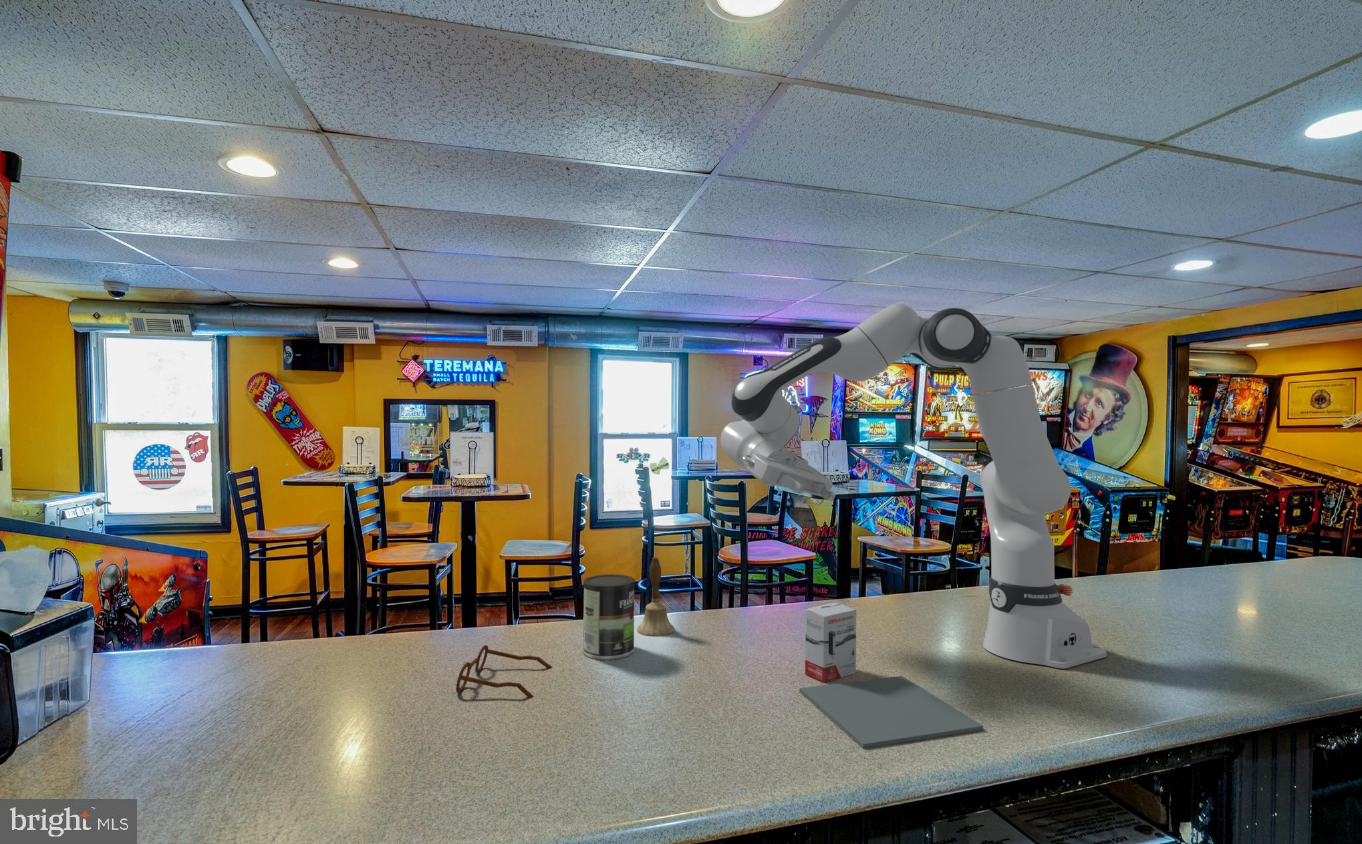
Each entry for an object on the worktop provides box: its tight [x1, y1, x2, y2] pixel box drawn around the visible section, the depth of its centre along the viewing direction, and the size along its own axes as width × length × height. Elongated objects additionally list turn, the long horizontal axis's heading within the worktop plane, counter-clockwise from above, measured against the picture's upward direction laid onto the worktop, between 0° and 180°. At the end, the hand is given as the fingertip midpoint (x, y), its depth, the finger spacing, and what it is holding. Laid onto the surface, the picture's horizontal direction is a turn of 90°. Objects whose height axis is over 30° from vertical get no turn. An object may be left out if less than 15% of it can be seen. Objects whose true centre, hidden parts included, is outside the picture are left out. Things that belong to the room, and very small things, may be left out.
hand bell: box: [636, 557, 675, 637], centre depth 133 cm, size 8×8×16 cm
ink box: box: [804, 602, 857, 684], centre depth 109 cm, size 8×5×12 cm, turn 123°
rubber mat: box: [799, 675, 984, 749], centre depth 94 cm, size 20×19×1 cm
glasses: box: [455, 644, 553, 698], centre depth 105 cm, size 13×13×5 cm
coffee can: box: [582, 573, 636, 661], centre depth 120 cm, size 10×10×14 cm
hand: (817, 493), depth 117 cm, fingers open, 8 cm apart
